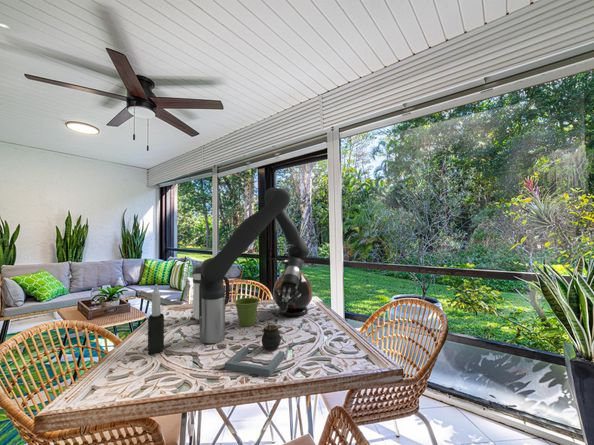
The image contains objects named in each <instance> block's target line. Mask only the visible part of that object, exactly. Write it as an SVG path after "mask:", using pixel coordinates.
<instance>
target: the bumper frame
mask: <svg viewBox="0 0 594 445" xmlns="http://www.w3.org/2000/svg"><path fill="white" fill-rule="evenodd" d="M249 349H250V348H249V346H243V347H242V348H241V349H239V350H238V351H237V352H236V353H235V354H233V355H232V356H231V357H230V358H229V359H228V360H226V361H225V362H224V370H228V371H233V372H240V373H245V374H252V375H259V376H265V377H271V376H272V374H273V373H274V372H275V370H277V368H278V366H280V364H281V363H282V362H283V361H284V359H285V354H286V353H285V351H281V350H279V351H278V353H277V354H276V355H275V356H274V357H273V358H272V359H271V360H270V362H269V363H268V364H267V366H266V365H260V364H253V363H246V362H240V361H241V360H243V358H245V357H246V356H247V355H248V354H249V353H250V352H249V351H250V350H249Z"/></svg>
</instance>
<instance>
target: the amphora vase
mask: <svg viewBox="0 0 594 445" xmlns="http://www.w3.org/2000/svg"><path fill="white" fill-rule="evenodd" d="M301 260H302V259H301ZM288 261H289V259H284V260H281V261H280V264H281V265H282V266H284V270H283V272H282V273H281V274H280V275H279V276H278V278H277V279H276V280H275V283H274V287H273V289H272V299H273V301H274V302H275V304H276V306H277V307H278V308H277V312H278V313H279V315H282V316H284V317H300V316H304V315H306V314H308V312H309V309H308V306H309V305H310V303H311V301H312V300H313V288H312V285H311V282H310V280H309V278H308V277H307V276H306V275H305V274H304V272H303V271H302V270H301V274H300V279H299V284H298V288H297V289H298V292H300V293H301V297H300V298H299V299H297V300H296V301H295V302H294V303H293V304H289V305H288V308H287V311H285V312H282V311H281V309H280V306H281V303H280V302H279V300H278V298H277V296H276V295H275V292H274V291H275V290H276V291H277V290H279V289H280V287H281V285H282V281H283V278H284V274H285V271H286V269H287V265H288ZM303 264H305V261H304V260H302V265H303ZM279 296H280V298H281V299H282V294H281V292H280V295H279Z"/></svg>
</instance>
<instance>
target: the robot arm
mask: <svg viewBox="0 0 594 445" xmlns="http://www.w3.org/2000/svg"><path fill="white" fill-rule="evenodd" d="M264 201H265V205H264V206H263V207H262V208H261V209H260V210H258V211H257V212H255V213H252V214H251V215H250V216H248V217H247V218H245V219H243V221H242V222H241V223H240V224H239V225H238V226H237V227H236V229H235V230H234V231H233V233H232V234H231V235H230V237H229V239H228V241H227V243H226V244H225V246H223V248H222V249H221V250H220V251H219V252H218V253H217V254H216V255H215V256H214V257H209V258H207V259H205V261H204V260H203V262H202V263H201V265H202V266H201V293H202V316H200V324H199V341H201V342H202V343H205V344H216V343H220V342H222V341H224V340H225V339H226V305H225V299H226V289H225V285H224V280H223V277H224V276H225V277H226V274H228V272H229V271H230V269H231V267H232V266H233V265H234V264H235V263H236V261H237V260H238V258H240V256H241V255H242V254H243V253H244V252H245V251H246V250H247V249H248V248H249V247H250V246H251V245H252V244H253V243H254V242H255V240H256V239H258V237H259V236H260V235H261V233H262V232H263V231H264V230H265V229H266V228H267V227H268V226H269V225H270V223H271V222H272V221H273V220H274V219H276V221H277V223H278V224H279V227H280V229H281V230H282V233H283V236H284V238H285V240H286V242H287V244H289V245H290V246H289V247H288V249H287V250H288V252H287V254H288V260H289V261H288V265H287V269H286V271H285V274H284V278H283V281H282V285H281V287H280V289H279V290H277V291H276V290H275V291H274V292H275V295H276V296H277V298H278V300H279V302H280V303H281V306H280V309H281V311H282V312H285V311H287V308H288V305H289V304H293V303H294V302H295V301H296V300H297V299H299V298H300V297H301V293H300V292H298V289H297V288H298V284H299V279H300V274H301V271H302V268H303V264H302V259H304V258H307V257H308V256H309V254H310V249H309V246H308V244H307V243H306V242H305V240H303V238H302V237H301V235H300V233H299V231H298V228H297V226H296V224H295V222H294V221H293V220H292V218H291V217H290V216H289V214H288V213H287V212H286V210H285V209H286V208H287V207H288V205H289V203H290V201H291V194H290V192H289V191H288V190H286V189H284V188H280V187H270V188H268V189H266V191H265V192H264ZM280 292H281V294H282V299H281V298H280V296H279V295H280Z"/></svg>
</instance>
